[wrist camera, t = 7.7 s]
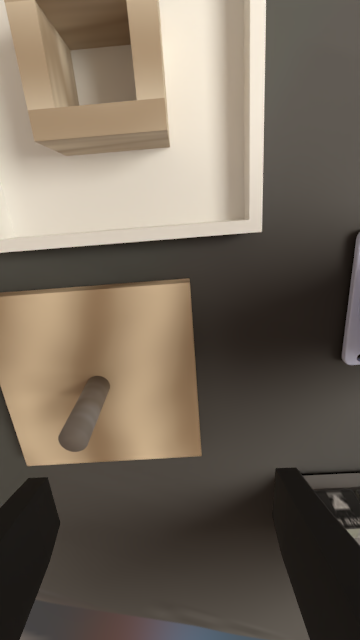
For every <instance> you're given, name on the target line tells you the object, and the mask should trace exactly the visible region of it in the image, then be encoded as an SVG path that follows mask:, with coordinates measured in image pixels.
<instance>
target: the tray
mask: <svg viewBox="0 0 360 640" xmlns="http://www.w3.org/2000/svg"><path fill="white" fill-rule="evenodd" d="M159 8H160V20H161V33H162V46H163V59H164V72H165V86H166V99H167V112H168V125H169V138H170V147H166V148H155V149H143V150H131V151H120V152H108V153H96V154H85V155H73V156H65V155H63V154H61V153H59V152H57V151H54V150H52V149H50V148H48V147H45V146H43V145H41V144H39V143H36V142H34V138H33V133H32V128H31V124H30V119H29V114H28V109H27V105H26V100H25V95H24V91H23V86H22V81H21V77H20V72H19V67H18V63H17V58H16V53H15V49H14V44H13V39H12V35H11V30H10V25H9V21H8V16H7V11H6V7H5V2H4V0H0V253H3V252H15V251H28V250H40V249H53V248H66V247H78V246H91V245H103V244H116V243H128V242H141V241H153V240H166V239H178V238H191V237H203V236H216V235H228V234H241V233H253V232H262V201H263V143H264V85H265V28H266V0H159ZM70 51H71V58H72V64H73V70H74V76H75V82H76V88H77V95H78V101H79V105H90V104H101V103H112V102H123V101H134V100H137V96H136V87H135V77H134V68H133V58H132V49H131V45H121V46H110V47H100V48H89V49H79V50H70Z"/></svg>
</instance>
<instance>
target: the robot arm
mask: <svg viewBox="0 0 360 640" xmlns="http://www.w3.org/2000/svg"><path fill="white" fill-rule="evenodd" d="M359 354H360V232H359V234H358V235H357V238H356V244H355V252H354V260H353V268H352V276H351V284H350V293H349V301H348V309H347V317H346V325H345V333H344V341H343V349H342V360H343V361H344V362H345V363H346V364H348V365H360V358H357V356H358V355H359ZM272 516H273V520H274V524H275V529H276V533H277V537H278V542H279V546H280V550H281V554H282V557H283V560H284V563H285V566H286V569H287V572H288V575H289V578H290V581H291V584H292V587H293V590H294V593H295V596H296V599H297V602H298V605H299V608H300V611H301V614H302V617H303V620H304V623H305V626H306V629H307V632H308V635H309V638H310V640H360V545H359V544H358V543H357V541H356V540H355V539H354V538H353V537H352V536H351V535H350V533H349V532H348V531H347V530H346V529H345V528H344V526H343V525H342V524H341V523H340V522H339V521H338V519H337V518H336V517H335V516H334V515H333V513H332V512H331V511H330V510H329V509H328V507H327V506H326V505H325V504H324V502H323V501H322V500H321V499H320V497H319V496H318V495H317V494H316V492H315V491H314V490H313V489H312V487H311V486H310V485H309V483H308V482H307V481H306V479H305V478H304V477H303V475H302V474H301V473H300V472H299V470H298V469H297V468H276V473H275V486H274V500H273V513H272ZM59 525H60V520H59V517H58V513H57V510H56V506H55V502H54V499H53V495H52V492H51V488H50V485H49V481H48V477H47V478H28V479H27V481H26V482H25V483H24V484H23V485H22V486H21V487H20V488H19V489H18V490H17V491H16V492H15V493H14V494H13V495H12V496H11V497H10V498H9V499H8V500H7V501H6V502H5V504H4V505H3V506H2V507H1V508H0V640H19V639H20V637H21V634H22V632H23V629H24V627H25V624H26V621H27V619H28V616H29V613H30V611H31V608H32V606H33V603H34V601H35V598H36V596H37V593H38V591H39V588H40V585H41V583H42V580H43V577H44V575H45V572H46V570H47V567H48V564H49V562H50V558H51V555H52V551H53V548H54V544H55V541H56V537H57V533H58V529H59Z"/></svg>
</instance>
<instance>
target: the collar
mask: <svg viewBox="0 0 360 640" xmlns="http://www.w3.org/2000/svg"><path fill="white" fill-rule="evenodd" d="M4 2H5V7H6V11H7V16H8V21H9V25H10V30H11V35H12V39H13V44H14V49H15V53H16V58H17V63H18V67H19V72H20V77H21V81H22V86H23V91H24V95H25V100H26V105H27V109H28V114H29V119H30V124H31V128H32V133H33V138H34V142H36V143H39V144H41V145H43V146H45V147H48V148H50V149H52V150H54V151H57V152H59V153H61V154H63V155H65V156H73V155H85V154H96V153H108V152H120V151H131V150H143V149H155V148H166V147H170V138H169V125H168V112H167V99H166V86H165V72H164V59H163V46H162V33H161V20H160V8H159V0H4ZM121 45H131V49H132V58H133V68H134V77H135V87H136V96H137V100H134V101H123V102H112V103H101V104H90V105H79V101H78V95H77V88H76V82H75V76H74V70H73V64H72V58H71V51H70V50H79V49H89V48H100V47H110V46H121Z"/></svg>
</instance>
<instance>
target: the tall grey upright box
mask: <svg viewBox="0 0 360 640" xmlns="http://www.w3.org/2000/svg"><path fill="white" fill-rule="evenodd" d="M303 477H304V478H305V479H306V481H307V482H308V483H309V485H310V486H311V487H312V489H313V490H314V491H315V492H316V494H317V495H318V496H319V497H320V499H321V500H322V501H323V502H324V504H325V505H326V506H327V507H328V509H329V510H330V511H331V512H332V513H333V515H334V516H335V517H336V518H337V519H338V521H339V522H340V523H341V524H342V525H343V526H344V528H345V529H346V530H347V531H348V532H349V533H350V535H351V536H352V537H353V538H354V539H355V540H356V541H357V543H358V544H359V545H360V473H348V474H327V475H307V476H303Z"/></svg>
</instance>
